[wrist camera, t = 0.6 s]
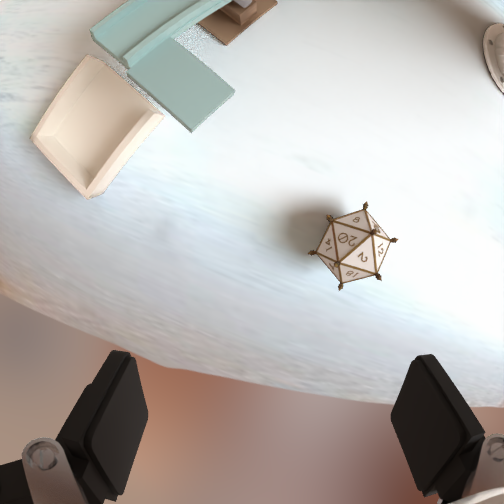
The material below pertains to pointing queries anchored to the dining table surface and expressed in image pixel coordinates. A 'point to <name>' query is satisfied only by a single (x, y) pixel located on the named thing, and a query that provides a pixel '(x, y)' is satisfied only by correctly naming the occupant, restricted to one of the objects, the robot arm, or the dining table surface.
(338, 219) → the game die
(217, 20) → the fulcrum
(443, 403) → the robot arm
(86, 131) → the tray
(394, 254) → the dining table surface
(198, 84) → the lever
